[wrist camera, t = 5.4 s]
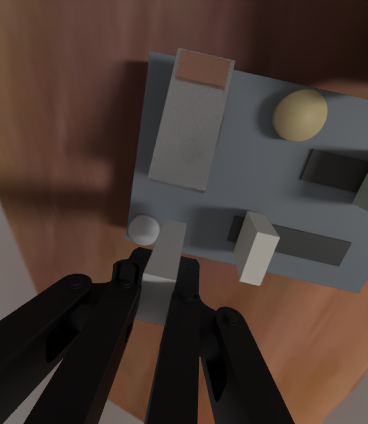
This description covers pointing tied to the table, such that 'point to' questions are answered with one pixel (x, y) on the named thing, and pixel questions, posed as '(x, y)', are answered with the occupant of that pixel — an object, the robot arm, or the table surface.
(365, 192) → the grey block
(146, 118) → the console
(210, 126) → the block
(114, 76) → the table surface
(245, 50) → the table surface
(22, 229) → the table surface
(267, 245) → the pale grey cuboid
